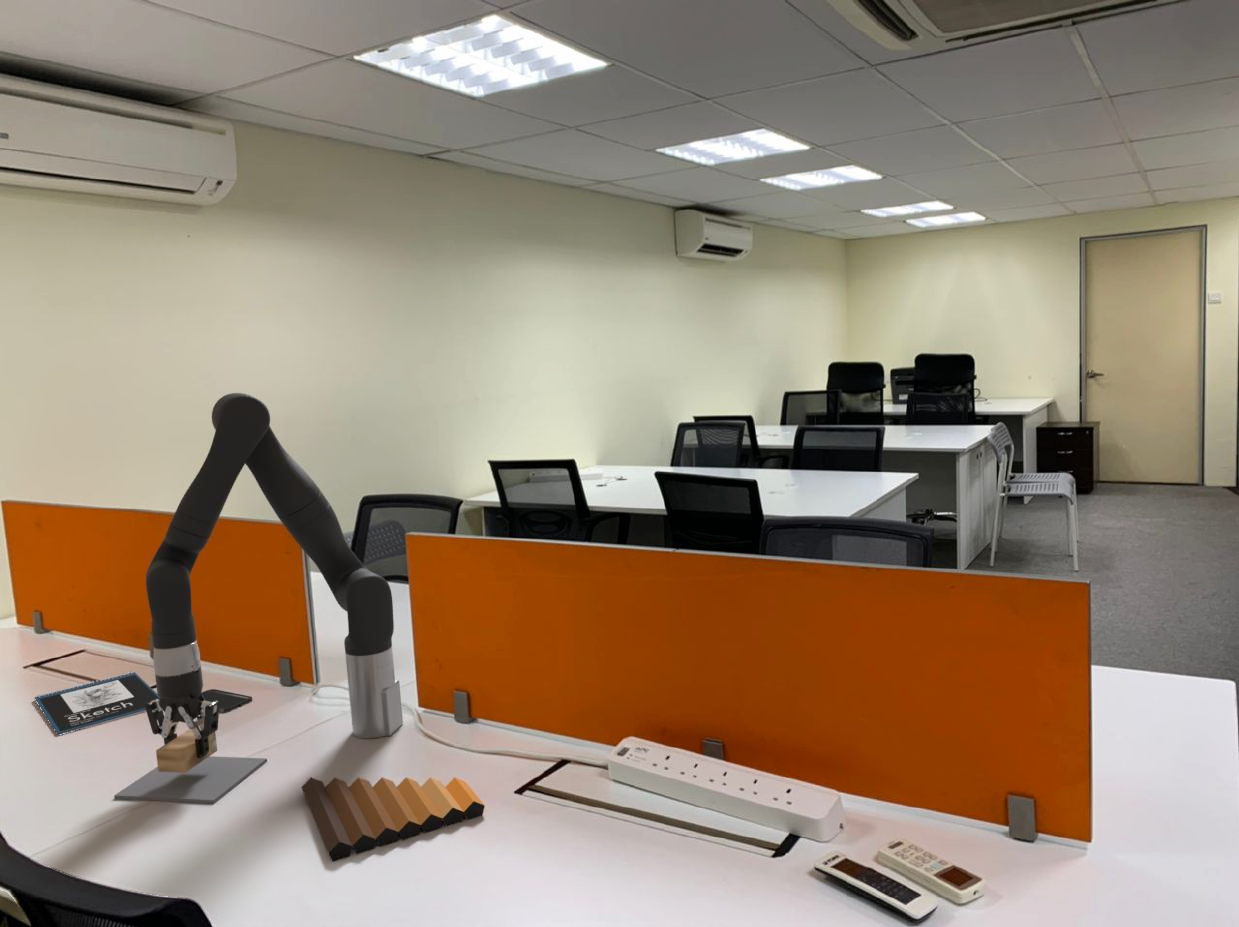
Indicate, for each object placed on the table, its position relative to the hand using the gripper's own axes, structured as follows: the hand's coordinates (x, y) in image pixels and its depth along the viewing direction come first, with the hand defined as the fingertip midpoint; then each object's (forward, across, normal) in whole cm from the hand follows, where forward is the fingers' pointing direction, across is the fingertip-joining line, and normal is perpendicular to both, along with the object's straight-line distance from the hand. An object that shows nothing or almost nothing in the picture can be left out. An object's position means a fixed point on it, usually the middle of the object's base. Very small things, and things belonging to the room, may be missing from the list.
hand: (187, 755), depth 163 cm
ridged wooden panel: (+6, +42, -5) cm, 43 cm away
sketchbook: (+6, -49, +34) cm, 60 cm away
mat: (+5, 0, +1) cm, 5 cm away
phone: (+5, -20, +36) cm, 42 cm away
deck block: (+1, 0, 0) cm, 1 cm away
